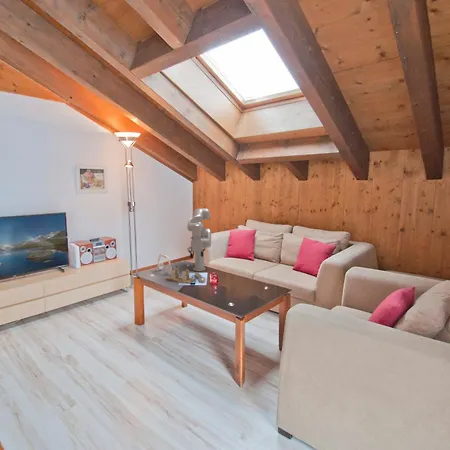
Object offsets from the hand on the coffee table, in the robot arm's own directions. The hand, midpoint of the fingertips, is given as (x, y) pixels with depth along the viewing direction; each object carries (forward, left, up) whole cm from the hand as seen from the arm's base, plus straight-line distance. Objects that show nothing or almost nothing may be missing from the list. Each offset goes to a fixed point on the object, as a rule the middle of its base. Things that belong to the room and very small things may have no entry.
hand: (196, 257), depth 291 cm
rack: (+9, -12, -20) cm, 25 cm away
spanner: (-1, +2, -20) cm, 20 cm away
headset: (-4, -38, -20) cm, 43 cm away
